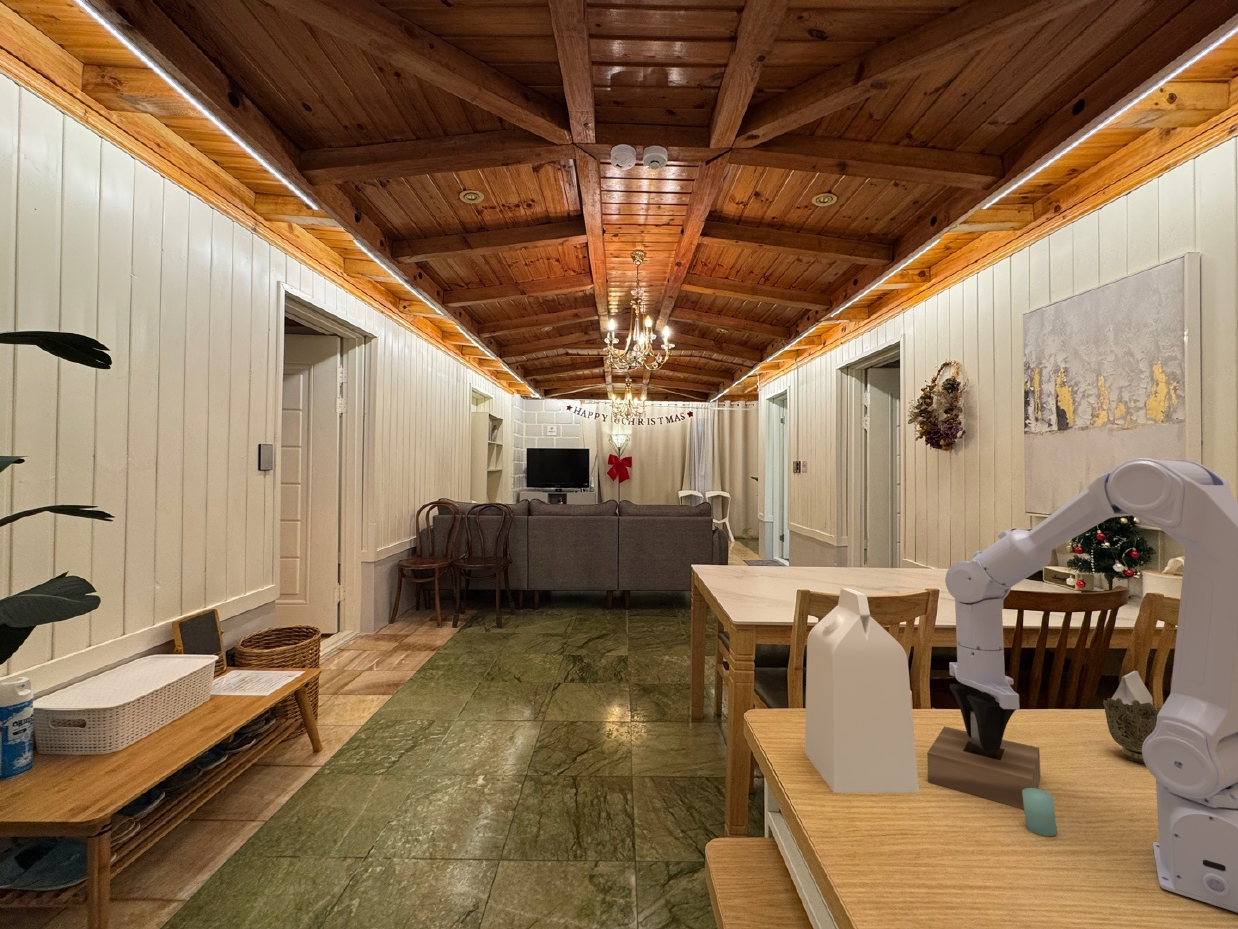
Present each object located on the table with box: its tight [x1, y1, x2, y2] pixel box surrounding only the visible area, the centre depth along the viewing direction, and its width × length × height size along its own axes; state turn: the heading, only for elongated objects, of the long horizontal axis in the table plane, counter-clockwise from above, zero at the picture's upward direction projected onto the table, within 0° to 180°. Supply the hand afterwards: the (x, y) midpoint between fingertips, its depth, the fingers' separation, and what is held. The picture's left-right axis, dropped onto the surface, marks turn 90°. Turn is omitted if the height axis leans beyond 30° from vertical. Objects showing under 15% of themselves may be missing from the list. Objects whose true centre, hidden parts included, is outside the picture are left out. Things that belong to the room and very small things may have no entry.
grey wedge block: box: [1111, 670, 1154, 706], centre depth 96 cm, size 4×7×10 cm, turn 124°
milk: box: [804, 587, 920, 794], centre depth 84 cm, size 12×12×26 cm
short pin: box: [1022, 788, 1058, 837], centre depth 68 cm, size 3×3×4 cm
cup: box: [1103, 697, 1162, 764], centre depth 87 cm, size 8×7×8 cm
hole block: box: [926, 725, 1041, 810], centre depth 81 cm, size 12×12×4 cm
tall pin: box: [970, 709, 997, 759], centre depth 81 cm, size 3×3×7 cm
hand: (983, 743), depth 81 cm, fingers open, 3 cm apart
